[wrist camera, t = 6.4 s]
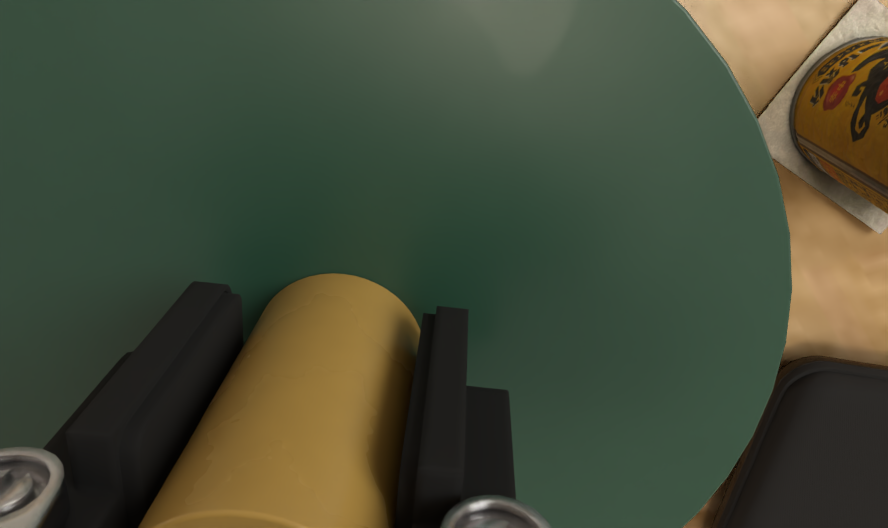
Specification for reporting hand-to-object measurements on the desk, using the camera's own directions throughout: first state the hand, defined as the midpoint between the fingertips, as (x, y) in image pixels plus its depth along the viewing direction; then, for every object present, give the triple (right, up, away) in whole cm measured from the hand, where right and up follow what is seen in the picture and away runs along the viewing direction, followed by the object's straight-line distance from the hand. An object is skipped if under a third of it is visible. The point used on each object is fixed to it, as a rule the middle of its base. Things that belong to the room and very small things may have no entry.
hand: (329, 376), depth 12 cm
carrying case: (+23, -9, +27) cm, 37 cm away
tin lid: (0, +1, +1) cm, 2 cm away
